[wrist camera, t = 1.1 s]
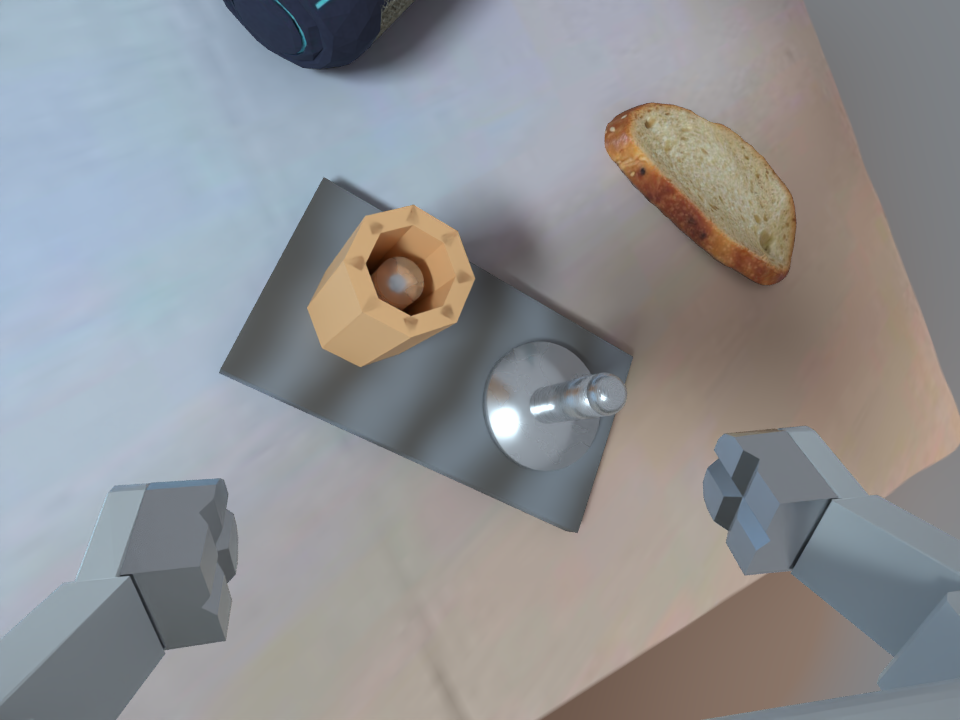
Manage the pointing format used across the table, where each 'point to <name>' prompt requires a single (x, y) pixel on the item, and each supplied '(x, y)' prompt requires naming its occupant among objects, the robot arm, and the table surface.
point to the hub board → (443, 375)
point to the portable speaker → (317, 27)
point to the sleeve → (353, 299)
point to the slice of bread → (708, 186)
